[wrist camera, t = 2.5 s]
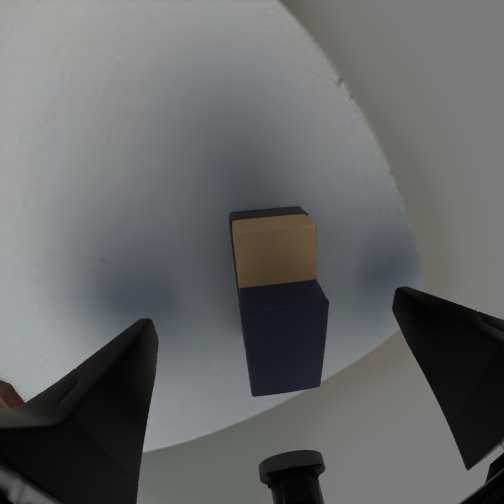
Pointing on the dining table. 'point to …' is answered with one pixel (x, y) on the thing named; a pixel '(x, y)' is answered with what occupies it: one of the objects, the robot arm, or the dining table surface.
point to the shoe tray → (9, 396)
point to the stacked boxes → (279, 298)
